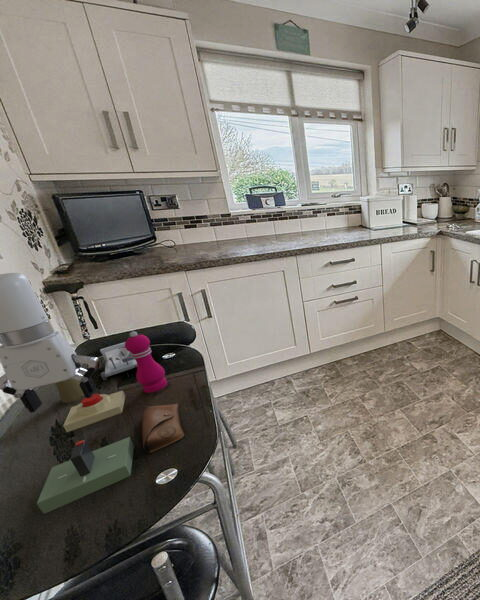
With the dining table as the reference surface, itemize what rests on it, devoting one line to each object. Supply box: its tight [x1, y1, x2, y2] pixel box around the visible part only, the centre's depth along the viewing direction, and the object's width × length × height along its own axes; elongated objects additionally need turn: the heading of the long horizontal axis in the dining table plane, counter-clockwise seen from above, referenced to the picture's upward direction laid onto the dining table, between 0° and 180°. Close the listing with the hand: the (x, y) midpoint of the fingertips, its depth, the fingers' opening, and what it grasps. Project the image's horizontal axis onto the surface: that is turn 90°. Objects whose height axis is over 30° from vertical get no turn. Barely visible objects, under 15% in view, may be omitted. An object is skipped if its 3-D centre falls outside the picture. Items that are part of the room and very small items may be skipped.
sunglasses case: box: [141, 403, 185, 453], centre depth 86 cm, size 18×7×7 cm
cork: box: [55, 378, 85, 404], centre depth 102 cm, size 6×6×11 cm
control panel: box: [36, 436, 135, 515], centre depth 72 cm, size 14×11×3 cm
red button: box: [80, 393, 102, 407], centre depth 93 cm, size 4×4×2 cm
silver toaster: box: [99, 341, 138, 381], centre depth 117 cm, size 18×10×12 cm
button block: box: [62, 390, 126, 433], centre depth 94 cm, size 12×10×4 cm
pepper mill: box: [125, 330, 168, 394], centre depth 102 cm, size 7×7×20 cm
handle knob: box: [69, 439, 95, 476], centre depth 71 cm, size 6×2×5 cm, turn 34°
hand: (64, 401), depth 73 cm, fingers open, 9 cm apart
